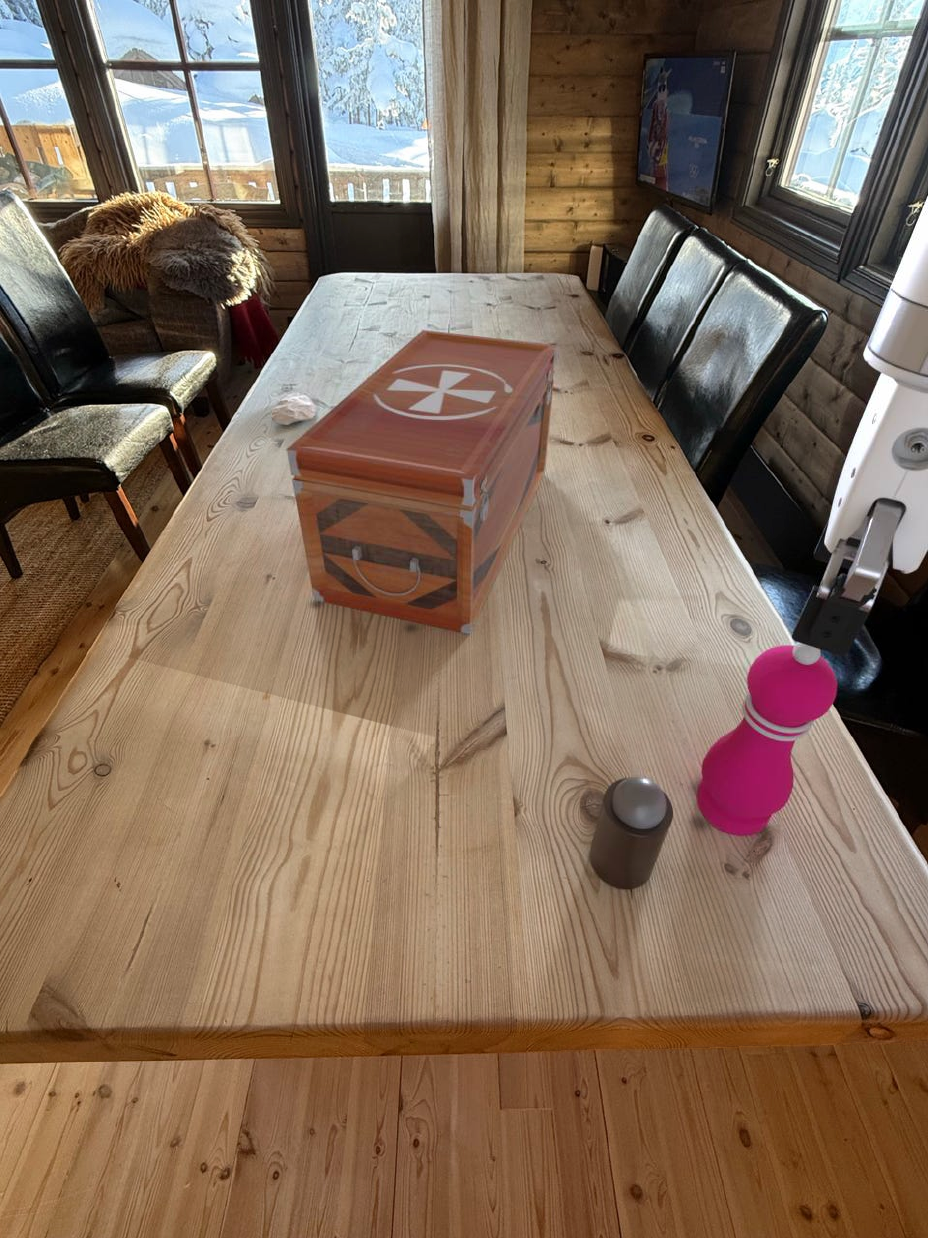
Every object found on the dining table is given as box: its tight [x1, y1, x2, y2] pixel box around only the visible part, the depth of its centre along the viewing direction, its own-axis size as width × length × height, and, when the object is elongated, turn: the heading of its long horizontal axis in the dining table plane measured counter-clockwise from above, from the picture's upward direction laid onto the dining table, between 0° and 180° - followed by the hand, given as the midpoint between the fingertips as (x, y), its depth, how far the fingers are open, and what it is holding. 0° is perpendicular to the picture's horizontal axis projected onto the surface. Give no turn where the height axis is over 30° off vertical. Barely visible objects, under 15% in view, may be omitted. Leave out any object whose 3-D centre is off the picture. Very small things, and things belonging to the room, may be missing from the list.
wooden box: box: [286, 329, 558, 635], centre depth 86 cm, size 20×41×20 cm, turn 162°
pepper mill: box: [696, 642, 838, 837], centre depth 53 cm, size 7×7×20 cm
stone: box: [270, 392, 317, 426], centre depth 121 cm, size 8×14×2 cm, turn 5°
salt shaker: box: [589, 775, 674, 891], centre depth 52 cm, size 5×5×10 cm
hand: (827, 601), depth 44 cm, fingers open, 9 cm apart
